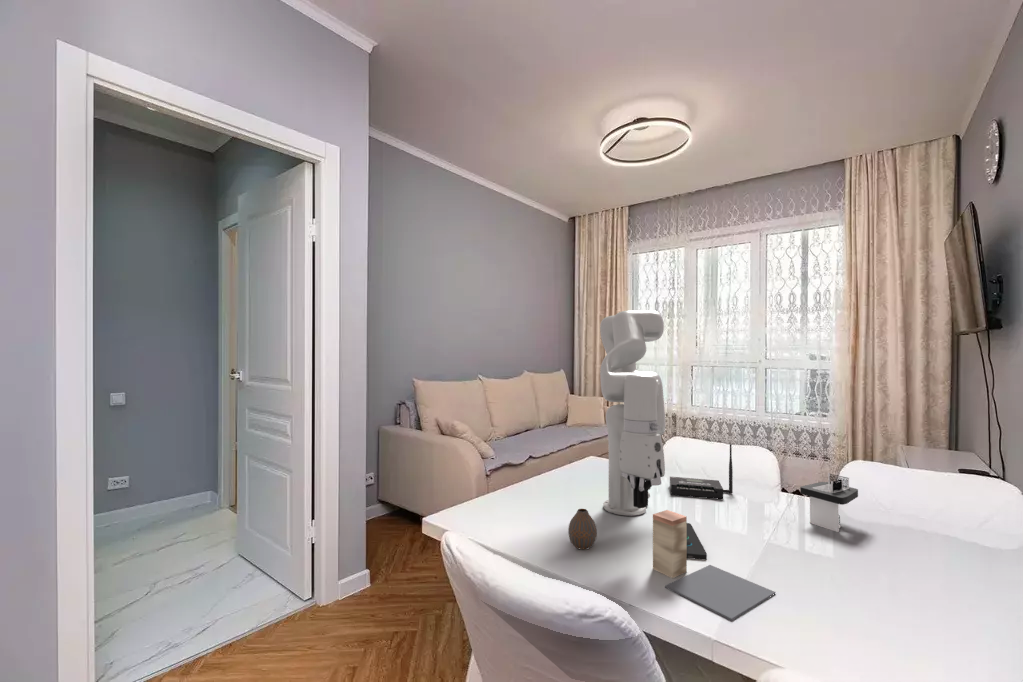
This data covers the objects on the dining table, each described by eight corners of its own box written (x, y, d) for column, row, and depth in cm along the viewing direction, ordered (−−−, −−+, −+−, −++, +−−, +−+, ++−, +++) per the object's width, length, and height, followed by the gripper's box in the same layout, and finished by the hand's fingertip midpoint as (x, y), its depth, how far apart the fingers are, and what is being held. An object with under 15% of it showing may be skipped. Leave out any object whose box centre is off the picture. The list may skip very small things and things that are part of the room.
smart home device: (670, 551, 107) (659, 520, 127) (670, 558, 107) (659, 526, 127) (708, 554, 106) (690, 522, 126) (708, 562, 106) (690, 529, 125)
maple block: (667, 563, 104) (667, 509, 104) (686, 571, 100) (686, 516, 100) (652, 569, 101) (652, 514, 102) (672, 578, 97) (672, 521, 97)
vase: (598, 542, 115) (598, 507, 115) (594, 554, 109) (594, 516, 109) (571, 538, 117) (571, 504, 118) (565, 549, 111) (565, 513, 111)
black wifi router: (671, 497, 152) (671, 445, 152) (669, 486, 165) (669, 438, 166) (737, 504, 146) (737, 449, 146) (730, 491, 159) (730, 441, 160)
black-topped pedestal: (859, 554, 110) (859, 498, 110) (756, 518, 133) (756, 472, 133) (915, 533, 123) (914, 483, 123) (812, 504, 146) (812, 462, 146)
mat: (710, 566, 103) (710, 564, 103) (775, 594, 91) (775, 592, 91) (665, 587, 93) (665, 585, 93) (731, 620, 82) (731, 618, 82)
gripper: (678, 429, 104) (678, 512, 103) (626, 422, 116) (626, 496, 115) (656, 432, 99) (657, 518, 99) (605, 424, 112) (605, 501, 111)
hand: (640, 506), depth 107 cm, fingers closed
